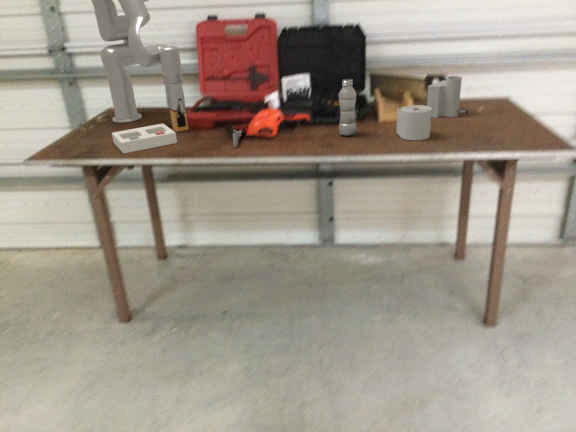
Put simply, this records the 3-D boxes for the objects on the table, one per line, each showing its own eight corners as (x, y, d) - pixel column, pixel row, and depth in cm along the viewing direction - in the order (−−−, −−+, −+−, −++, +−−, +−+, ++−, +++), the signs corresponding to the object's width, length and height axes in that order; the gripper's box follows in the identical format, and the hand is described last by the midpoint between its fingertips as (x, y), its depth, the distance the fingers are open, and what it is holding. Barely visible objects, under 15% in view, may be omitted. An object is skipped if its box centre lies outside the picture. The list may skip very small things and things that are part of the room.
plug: (172, 129, 209) (169, 109, 205) (184, 126, 211) (181, 107, 207) (176, 131, 205) (173, 112, 201) (188, 129, 207) (185, 110, 203)
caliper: (236, 148, 182) (235, 131, 180) (233, 148, 183) (232, 131, 180) (246, 131, 201) (245, 116, 198) (243, 131, 201) (242, 116, 198)
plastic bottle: (358, 132, 190) (359, 78, 182) (353, 138, 185) (353, 82, 176) (342, 131, 193) (342, 77, 184) (336, 136, 187) (335, 81, 179)
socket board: (113, 142, 196) (111, 131, 194) (164, 133, 204) (162, 121, 202) (123, 153, 183) (120, 141, 181) (177, 142, 191) (175, 130, 189)
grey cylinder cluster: (441, 109, 214) (444, 73, 207) (473, 114, 205) (477, 76, 198) (426, 116, 206) (428, 78, 200) (458, 121, 197) (462, 81, 190)
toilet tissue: (429, 141, 177) (431, 112, 173) (394, 140, 180) (395, 112, 176) (429, 132, 186) (431, 104, 182) (396, 131, 189) (397, 104, 185)
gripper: (157, 77, 204) (164, 122, 212) (170, 84, 191) (177, 131, 199) (175, 75, 207) (182, 119, 215) (189, 81, 194) (195, 128, 202)
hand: (179, 124), depth 207 cm, fingers closed on plug, 4 cm apart
